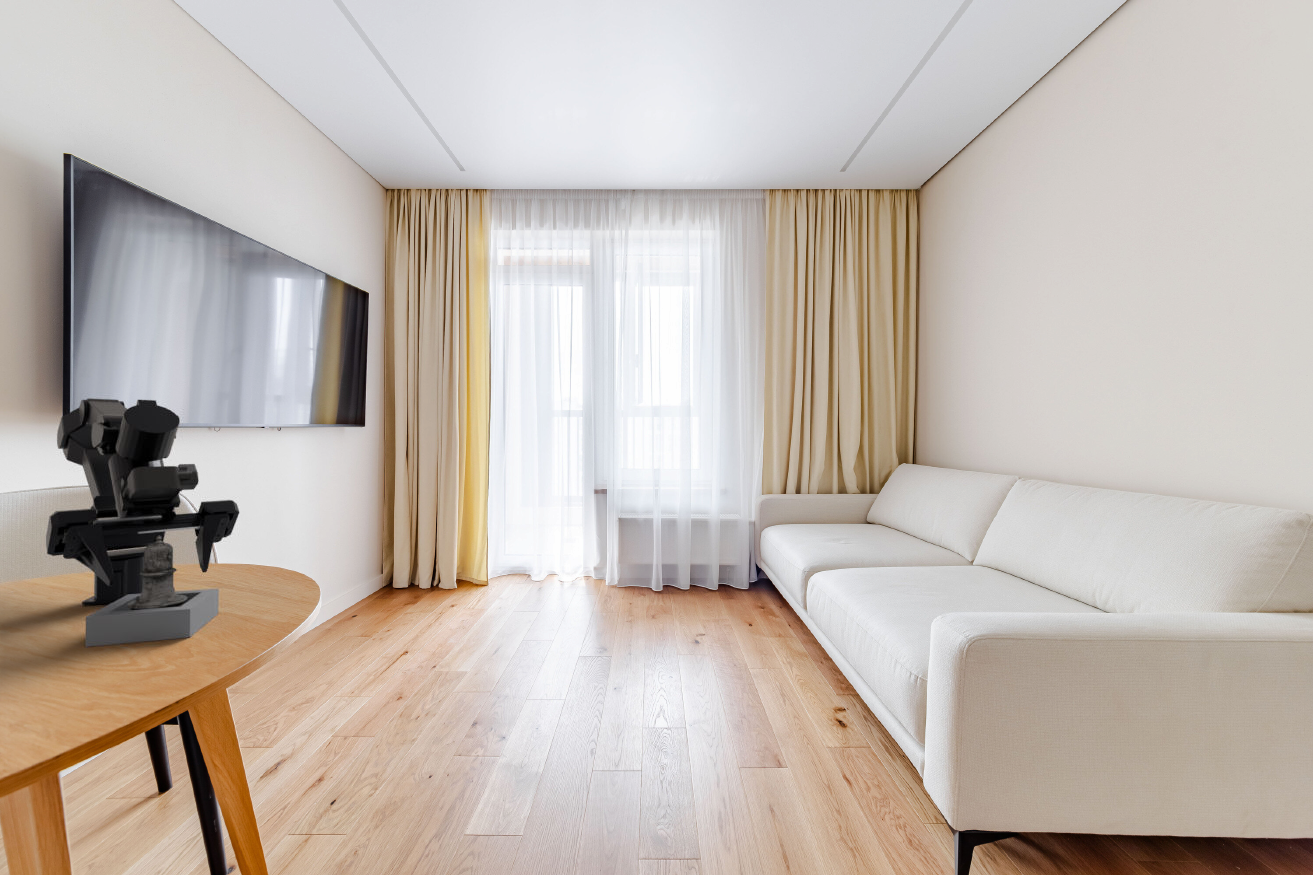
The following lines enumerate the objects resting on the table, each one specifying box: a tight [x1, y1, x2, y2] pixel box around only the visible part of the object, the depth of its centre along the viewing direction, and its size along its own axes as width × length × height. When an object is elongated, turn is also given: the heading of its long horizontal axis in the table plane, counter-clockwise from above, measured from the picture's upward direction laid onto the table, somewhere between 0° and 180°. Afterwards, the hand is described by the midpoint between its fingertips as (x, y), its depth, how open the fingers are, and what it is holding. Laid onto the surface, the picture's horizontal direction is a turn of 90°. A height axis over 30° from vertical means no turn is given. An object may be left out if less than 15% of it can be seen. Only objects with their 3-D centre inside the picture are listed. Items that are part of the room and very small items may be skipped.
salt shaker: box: [127, 535, 187, 610], centre depth 74 cm, size 6×6×12 cm
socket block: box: [85, 588, 220, 648], centre depth 74 cm, size 10×10×4 cm
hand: (160, 576), depth 73 cm, fingers open, 9 cm apart
